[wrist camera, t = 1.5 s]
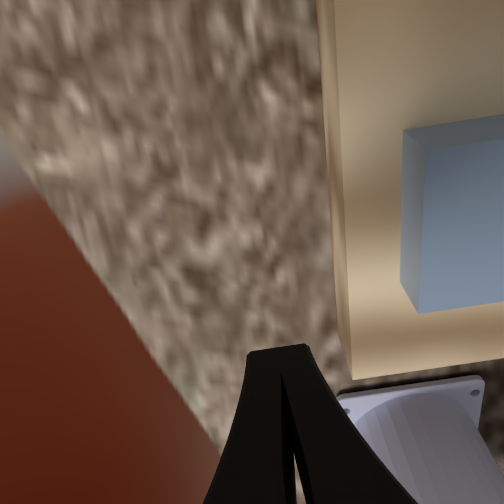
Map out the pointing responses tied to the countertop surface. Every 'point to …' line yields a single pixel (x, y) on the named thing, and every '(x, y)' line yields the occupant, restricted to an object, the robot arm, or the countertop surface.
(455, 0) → the board
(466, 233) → the blue flat block
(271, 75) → the countertop surface
